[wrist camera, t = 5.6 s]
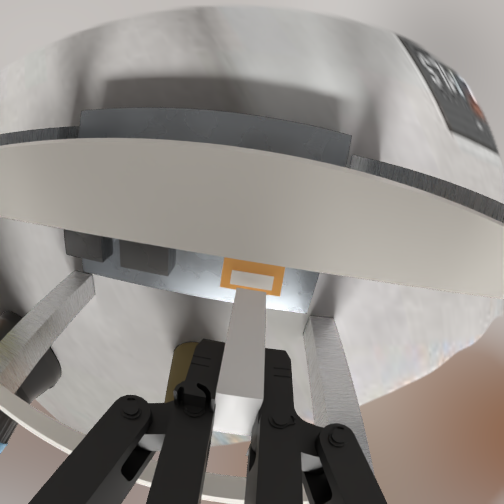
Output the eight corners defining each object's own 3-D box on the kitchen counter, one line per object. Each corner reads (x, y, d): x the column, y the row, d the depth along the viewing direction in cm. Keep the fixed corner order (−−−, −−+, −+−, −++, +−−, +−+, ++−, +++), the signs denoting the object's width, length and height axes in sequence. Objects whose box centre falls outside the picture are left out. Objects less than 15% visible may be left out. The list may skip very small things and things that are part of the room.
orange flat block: (222, 282, 17) (219, 287, 15) (240, 172, 17) (239, 165, 15) (277, 290, 17) (280, 297, 16) (295, 181, 17) (300, 176, 15)
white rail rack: (78, 289, 26) (-13, 393, 10) (71, 114, 18) (-89, 136, 3) (326, 337, 26) (357, 495, 11) (383, 148, 19) (570, 200, 3)
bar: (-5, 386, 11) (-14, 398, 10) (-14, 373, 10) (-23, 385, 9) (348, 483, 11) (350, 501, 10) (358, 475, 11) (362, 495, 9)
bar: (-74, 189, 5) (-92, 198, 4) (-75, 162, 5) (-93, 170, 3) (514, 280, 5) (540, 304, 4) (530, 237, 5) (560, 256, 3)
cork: (173, 372, 30) (147, 447, 20) (172, 336, 27) (138, 419, 17) (222, 382, 30) (208, 461, 20) (228, 348, 28) (212, 437, 17)
